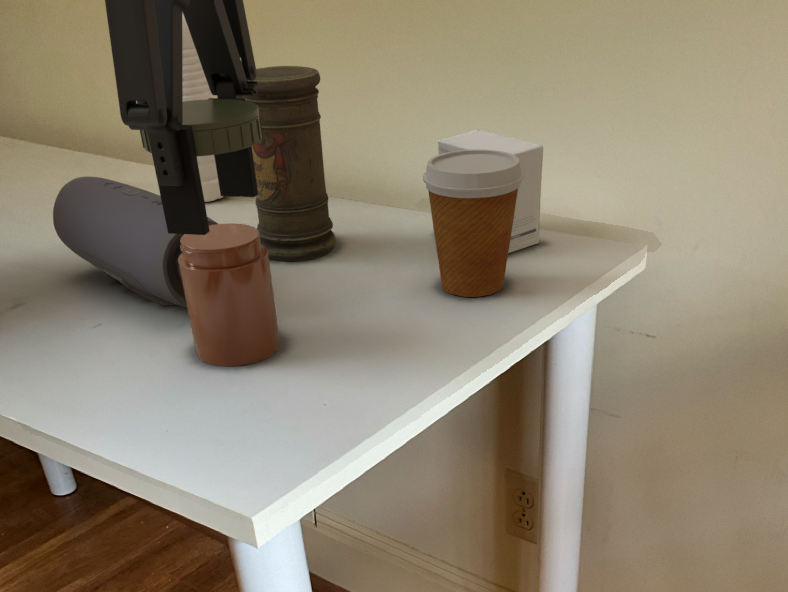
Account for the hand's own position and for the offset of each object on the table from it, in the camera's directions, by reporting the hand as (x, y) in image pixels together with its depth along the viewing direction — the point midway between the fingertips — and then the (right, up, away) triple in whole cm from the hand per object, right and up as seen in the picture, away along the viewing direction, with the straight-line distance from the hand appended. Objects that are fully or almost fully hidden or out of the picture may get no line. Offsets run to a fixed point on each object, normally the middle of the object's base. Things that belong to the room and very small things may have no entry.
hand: (215, 212), depth 63 cm
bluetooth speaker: (-13, +3, +30) cm, 33 cm away
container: (+1, +10, +39) cm, 40 cm away
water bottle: (-13, +23, +57) cm, 62 cm away
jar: (-2, -6, +18) cm, 19 cm away
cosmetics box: (+23, +11, +38) cm, 46 cm away
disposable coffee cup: (+20, +3, +27) cm, 34 cm away
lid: (0, +5, -4) cm, 6 cm away
